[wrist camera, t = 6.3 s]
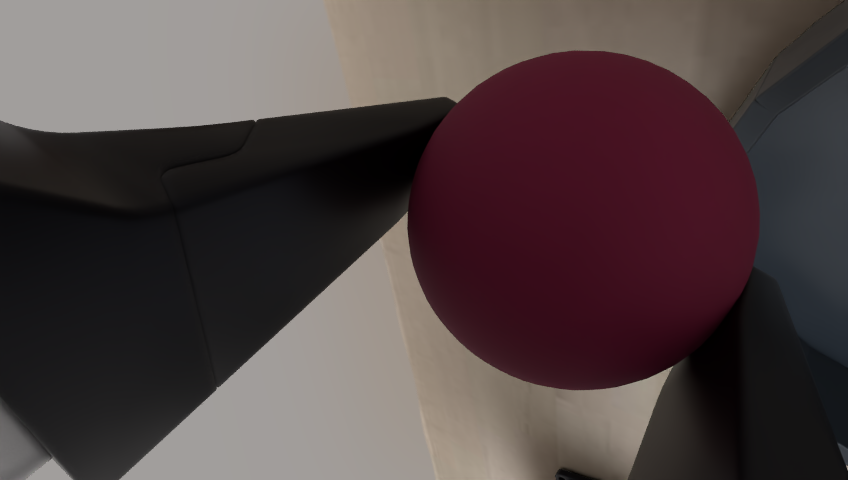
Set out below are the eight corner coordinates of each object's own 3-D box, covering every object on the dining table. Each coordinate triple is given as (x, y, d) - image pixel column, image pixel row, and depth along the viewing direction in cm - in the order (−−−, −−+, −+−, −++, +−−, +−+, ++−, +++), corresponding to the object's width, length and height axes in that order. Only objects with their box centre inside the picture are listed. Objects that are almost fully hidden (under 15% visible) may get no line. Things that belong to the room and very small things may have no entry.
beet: (535, 254, 12) (409, 413, 9) (475, 38, 10) (285, 155, 7) (793, 274, 9) (726, 525, 6) (782, -33, 7) (671, 123, 4)
